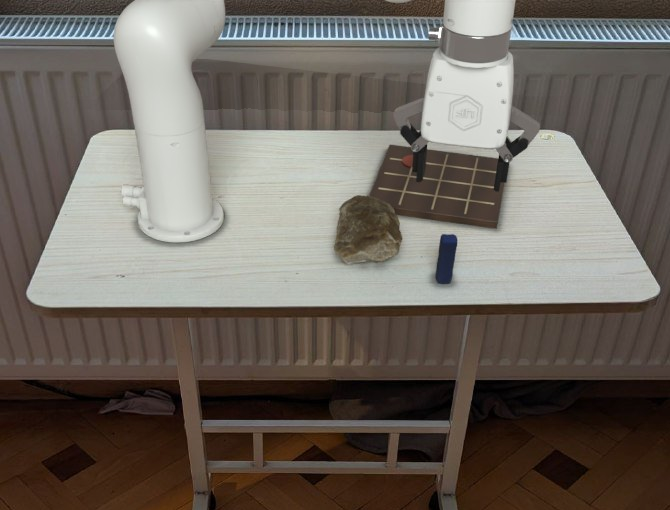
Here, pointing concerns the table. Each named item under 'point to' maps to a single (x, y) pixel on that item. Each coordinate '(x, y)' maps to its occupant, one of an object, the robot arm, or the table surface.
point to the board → (441, 187)
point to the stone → (367, 231)
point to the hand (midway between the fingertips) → (458, 181)
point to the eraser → (446, 258)
